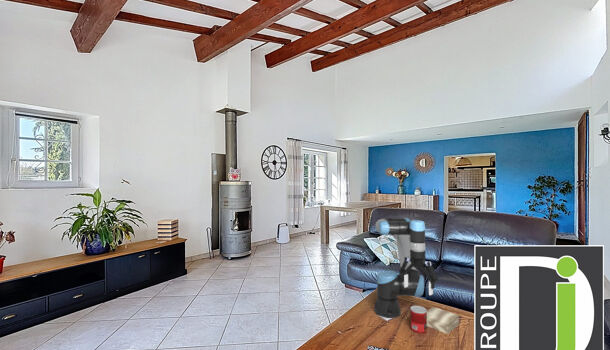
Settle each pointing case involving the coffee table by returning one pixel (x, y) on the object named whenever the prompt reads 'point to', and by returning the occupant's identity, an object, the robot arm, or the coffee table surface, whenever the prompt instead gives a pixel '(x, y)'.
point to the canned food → (418, 319)
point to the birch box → (442, 320)
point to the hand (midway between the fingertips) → (418, 290)
